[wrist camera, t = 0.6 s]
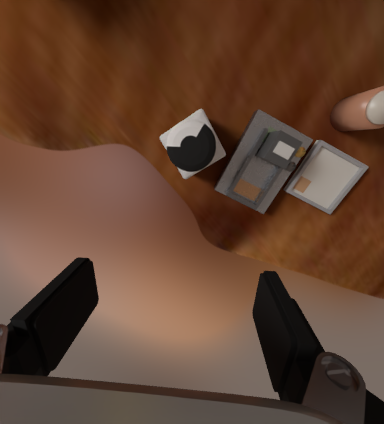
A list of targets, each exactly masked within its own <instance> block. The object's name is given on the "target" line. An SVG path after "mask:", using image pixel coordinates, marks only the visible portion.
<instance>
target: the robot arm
mask: <svg viewBox="0 0 384 424" xmlns="http://www.w3.org/2000/svg"><path fill="white" fill-rule="evenodd" d="M98 299H99V298H98V292H97V285H96V279H95V273H94V267H93V262H92V261H90V259H89V258H76V259H75V260H74V261H73V262H72V263H71V264H70V265H68V266H67V267H66V268H65V269H64V270H63V271H62V272H61V273H60V274H59V275H58V276H57V277H56V278H54V280H52V281H51V282H50V283H49V284H48V285H47V286H46V287H45V288H44V289H42V290H41V291H40V292H39V293H38V294H37V295H36V296H35V297H34V298H33V299H32V300H31V301H29V302H28V304H26V305H25V306H24V307H23V308H22V309H21V310H20V311H19V312H18V313H17V314H15V315H14V316H13V317H12V318H11V319H10V320H11V322H10V323H9V324H8V325H7V326H6V325H4V324H0V424H384V402H383V401H382V400H380V399H379V398H378V397H376V396H375V395H373V394H372V393H371V392H369V391H368V390H367V389H366V386H365V382H364V380H363V378H362V376H361V375H360V373H359V372H358V370H357V369H356V368H355V367H354V366H353V365H352V364H351V363H350V362H348V361H347V360H346V359H344V358H343V357H341V356H339V355H337V354H335V353H331V352H325V351H324V349H323V347H322V346H321V344H320V342H319V340H318V339H317V337H316V335H315V333H314V332H313V330H312V328H311V327H310V325H309V323H308V321H307V320H306V318H305V316H304V314H303V313H302V311H301V309H300V308H299V306H298V304H297V302H296V301H295V300H294V299H292V298H291V297H290V296H289V294H288V292H287V290H286V289H285V287H284V285H283V283H282V281H281V280H280V278H279V276H278V274H277V273H276V272H275V271H264V273H261V274H260V277H259V283H258V287H257V292H256V297H255V302H254V307H253V319H254V322H255V326H256V329H257V333H258V337H259V340H260V344H261V347H262V351H263V354H264V358H265V362H266V365H267V369H268V372H269V376H270V379H271V382H272V386H273V389H274V391H275V392H278V394H279V397H280V400H276V399H269V398H261V397H253V396H244V395H236V394H226V393H217V392H207V391H197V390H187V389H178V388H167V387H157V386H146V385H136V384H125V383H115V382H104V381H93V380H81V379H71V378H59V377H48V375H49V373H50V372H51V371H53V370H54V369H55V368H56V367H57V366H58V364H59V362H60V361H61V359H62V358H63V356H64V355H65V353H66V352H67V350H68V349H69V347H70V345H71V344H72V342H73V341H74V339H75V338H76V336H77V335H78V333H79V332H80V330H81V328H82V327H83V326H84V324H85V322H86V321H87V319H88V318H89V316H90V315H91V313H92V311H93V310H94V309H95V307H96V306H97V304H98Z"/></svg>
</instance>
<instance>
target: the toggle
mask: <svg viewBox="0 0 384 424" xmlns="http://www.w3.org/2000/svg"><path fill="white" fill-rule="evenodd" d="M302 143H303V142H301V141H299V140H298V139H296V138H294V137H292V136H290V135H289V134H287V133H285V132H283V131H281V130H280V131H273V132H270V133H269V135H268V136H267V138H266V140H265V141H264V143H263V145H262V147H261V148H260V150H259V152H258V153H257V155H256V156H257V157H259V158H261V159H263V160H265V161H266V162H268V163H270V164H272V165H274V166H277V167H280V168H283V169H286V168H287V166H288V164H289V163H290V161H291V160H292V158H293V157H294V155H295V154H296V152H297V151H298V149H299V148H300V146H301V145H302Z"/></svg>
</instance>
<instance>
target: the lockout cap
mask: <svg viewBox="0 0 384 424" xmlns="http://www.w3.org/2000/svg"><path fill="white" fill-rule="evenodd" d="M330 121H331V125H332V126H333V128H334V129H336V130H338V131H354V130H366V129H378V128H383V127H384V86H382V87H379V88H376V89H372V90H369V91H366V92H363V93H360V94H356V95H353V96H350V97H347V98H344V99H342V100H341V101H339V102H338V103H337V104H336V105H335V106H334V108H333V110H332V112H331V116H330Z"/></svg>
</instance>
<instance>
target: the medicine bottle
mask: <svg viewBox="0 0 384 424" xmlns="http://www.w3.org/2000/svg"><path fill="white" fill-rule="evenodd" d="M160 140H161V142H162V143H163V145H164V147H165V148H166V150H167V153H168V156H169V158H170V160H171V161H172V163H173V164H174V165H175V166H176V167H177V168H178V170H179V171H180V173H181V175H182V176H183V178H184V179H188V178H189V177H191V176H193V175H194V174H196V173H198V172H199V171H201V170H203V169H204V168H206V167H208V166H209V165H211V164H213V163H214V162H216V161H218V160H219V159H221V158H223V157H224V156H225V155H226V153H225V151H224V149H223V147H222V145H221V143H220V141H219V139H218V137H217V135H216V133H215V131H214V129H213V128H212V126H211V124H210V122H209V120H208V118H207V116H206V114H205V112H204V110H203V109H199V110H198V111H196V112H195V113H193V114H192V115H190V116H189V117H187V118H186V119H184V120H183V121H181V122H180V123H178V124H177V125H175V126H174V127H173V128H171V129H170V130H168V131H167V132H165V133H164V134H162V135H161V136H160Z"/></svg>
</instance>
